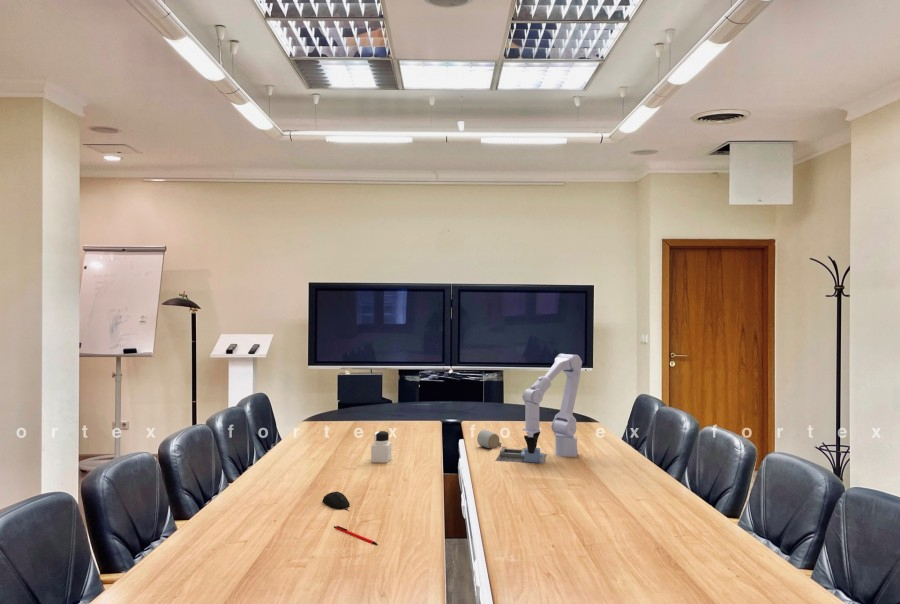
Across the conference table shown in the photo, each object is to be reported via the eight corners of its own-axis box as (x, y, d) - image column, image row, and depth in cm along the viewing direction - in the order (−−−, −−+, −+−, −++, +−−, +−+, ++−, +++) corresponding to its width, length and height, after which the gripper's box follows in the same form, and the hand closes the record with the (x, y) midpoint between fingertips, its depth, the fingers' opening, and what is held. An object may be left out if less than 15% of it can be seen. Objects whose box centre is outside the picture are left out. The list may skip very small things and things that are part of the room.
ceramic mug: (489, 450, 255) (489, 433, 255) (476, 447, 261) (476, 430, 261) (505, 447, 262) (505, 430, 262) (493, 444, 268) (493, 427, 268)
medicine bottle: (391, 458, 241) (391, 430, 241) (387, 462, 234) (387, 433, 234) (374, 458, 242) (374, 429, 242) (370, 462, 235) (370, 433, 235)
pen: (335, 527, 165) (335, 524, 165) (379, 546, 153) (379, 541, 153) (333, 528, 165) (333, 524, 165) (376, 547, 152) (376, 542, 152)
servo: (543, 460, 235) (543, 446, 235) (543, 462, 231) (543, 448, 231) (522, 458, 237) (522, 445, 237) (521, 461, 233) (520, 447, 234)
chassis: (547, 456, 245) (547, 449, 245) (543, 465, 230) (543, 458, 230) (501, 453, 250) (501, 446, 250) (495, 462, 235) (495, 455, 235)
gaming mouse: (340, 514, 176) (340, 501, 176) (319, 502, 187) (319, 490, 187) (358, 510, 180) (358, 497, 180) (336, 498, 191) (336, 486, 191)
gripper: (524, 414, 243) (524, 446, 242) (520, 420, 228) (520, 454, 228) (541, 415, 241) (541, 447, 241) (538, 421, 227) (538, 455, 226)
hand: (532, 451), depth 234 cm, fingers open, 7 cm apart
